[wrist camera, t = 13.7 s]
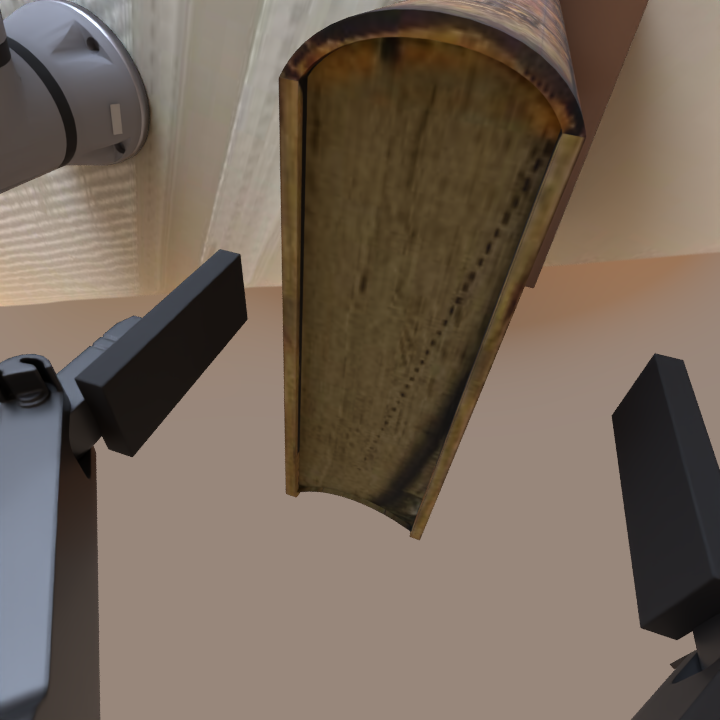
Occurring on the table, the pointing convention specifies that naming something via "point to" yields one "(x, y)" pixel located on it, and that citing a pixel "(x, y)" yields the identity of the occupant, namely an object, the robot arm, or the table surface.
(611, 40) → the shelf
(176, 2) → the table surface
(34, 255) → the table surface
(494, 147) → the book
